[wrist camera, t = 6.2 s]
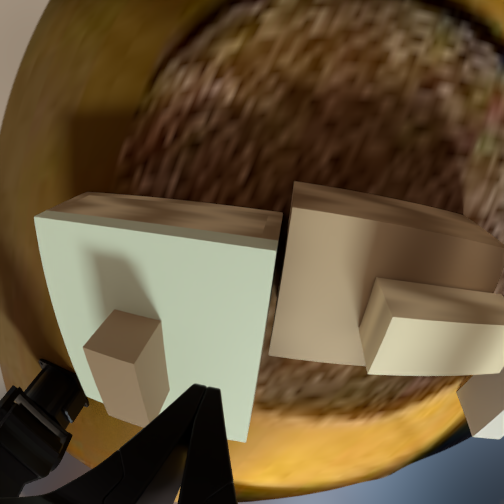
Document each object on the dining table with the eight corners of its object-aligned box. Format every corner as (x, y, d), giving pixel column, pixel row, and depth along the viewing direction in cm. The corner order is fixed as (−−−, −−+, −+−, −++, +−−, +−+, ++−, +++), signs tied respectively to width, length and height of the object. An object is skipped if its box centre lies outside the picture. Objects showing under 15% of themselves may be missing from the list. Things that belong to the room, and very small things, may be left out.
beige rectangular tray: (113, 355, 26) (86, 396, 21) (86, 164, 19) (30, 183, 13) (383, 401, 24) (391, 450, 19) (463, 215, 16) (510, 249, 11)
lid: (96, 381, 23) (67, 424, 18) (54, 206, 16) (-8, 239, 11) (249, 422, 21) (238, 480, 16) (279, 234, 15) (268, 294, 10)
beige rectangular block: (358, 330, 14) (367, 374, 11) (376, 277, 13) (392, 316, 10) (479, 338, 13) (499, 373, 10) (501, 294, 12) (527, 326, 9)
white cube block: (495, 349, 20) (520, 393, 15) (519, 362, 20) (541, 400, 15) (455, 391, 23) (472, 437, 17) (483, 399, 23) (499, 439, 17)
